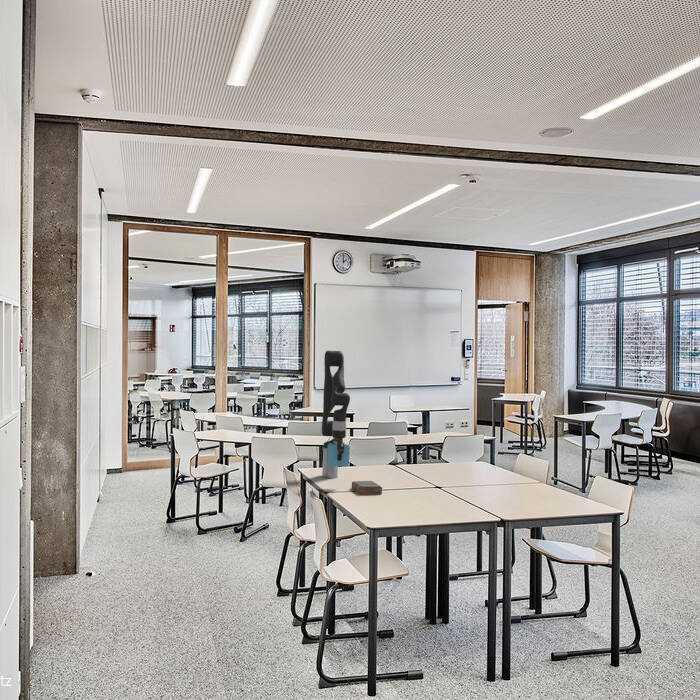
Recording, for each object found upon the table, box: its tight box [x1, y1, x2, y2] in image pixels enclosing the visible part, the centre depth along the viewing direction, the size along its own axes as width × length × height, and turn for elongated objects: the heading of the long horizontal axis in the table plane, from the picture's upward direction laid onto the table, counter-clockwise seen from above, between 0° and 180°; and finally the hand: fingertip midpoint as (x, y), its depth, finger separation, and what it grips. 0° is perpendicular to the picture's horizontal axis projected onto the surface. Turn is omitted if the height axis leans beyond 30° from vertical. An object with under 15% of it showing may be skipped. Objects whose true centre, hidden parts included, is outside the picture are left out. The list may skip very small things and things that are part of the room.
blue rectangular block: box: [327, 443, 351, 467], centre depth 353 cm, size 12×4×12 cm, turn 99°
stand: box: [351, 480, 383, 496], centre depth 345 cm, size 15×12×4 cm
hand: (337, 459), depth 353 cm, fingers closed on blue rectangular block, 5 cm apart
